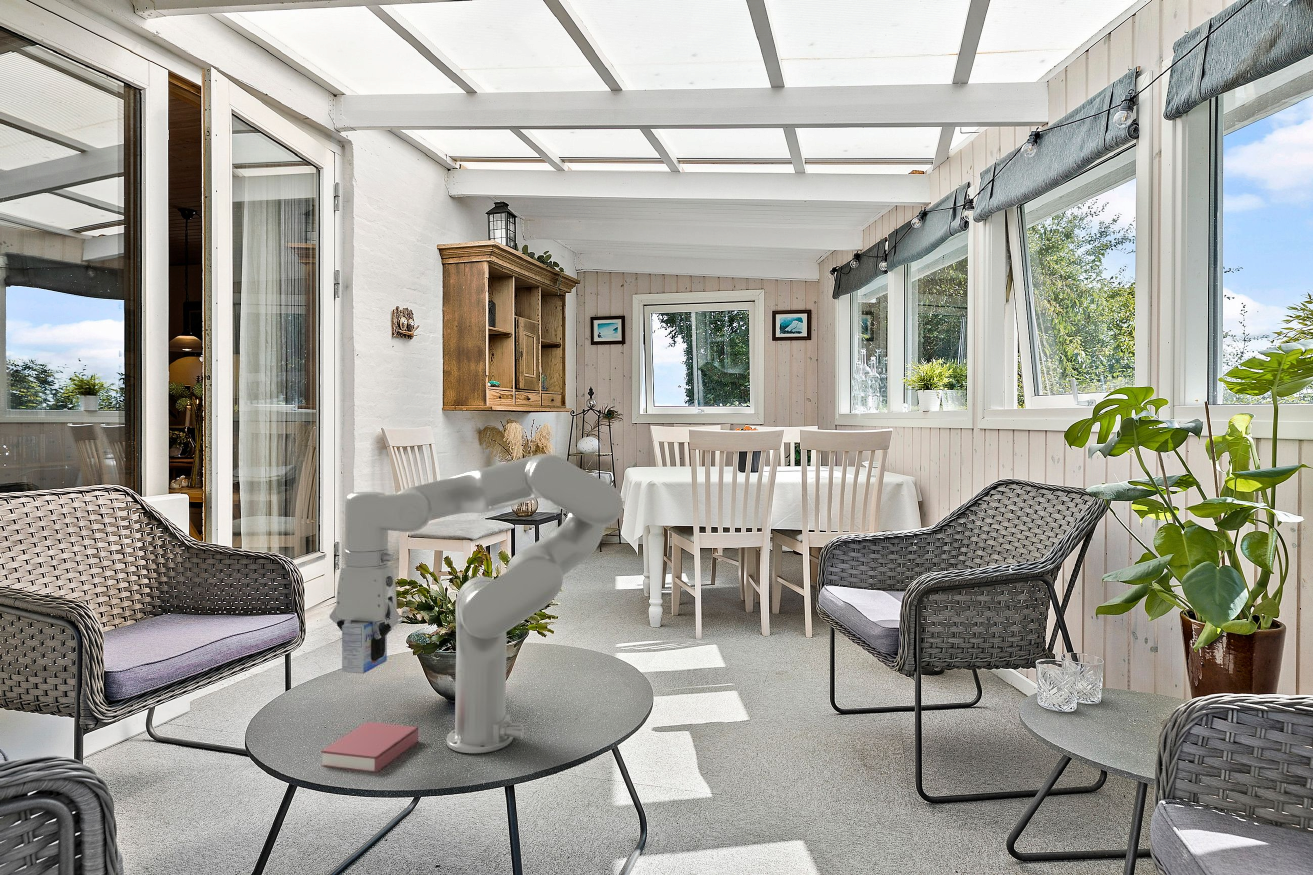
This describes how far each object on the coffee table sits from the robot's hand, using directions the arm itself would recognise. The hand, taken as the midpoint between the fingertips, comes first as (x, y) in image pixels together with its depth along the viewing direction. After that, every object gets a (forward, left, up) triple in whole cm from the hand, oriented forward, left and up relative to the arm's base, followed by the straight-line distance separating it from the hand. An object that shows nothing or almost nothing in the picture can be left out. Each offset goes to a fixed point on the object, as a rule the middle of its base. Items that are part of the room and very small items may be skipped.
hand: (364, 656), depth 139 cm
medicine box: (0, 0, -2) cm, 2 cm away
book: (-1, -1, -18) cm, 19 cm away
